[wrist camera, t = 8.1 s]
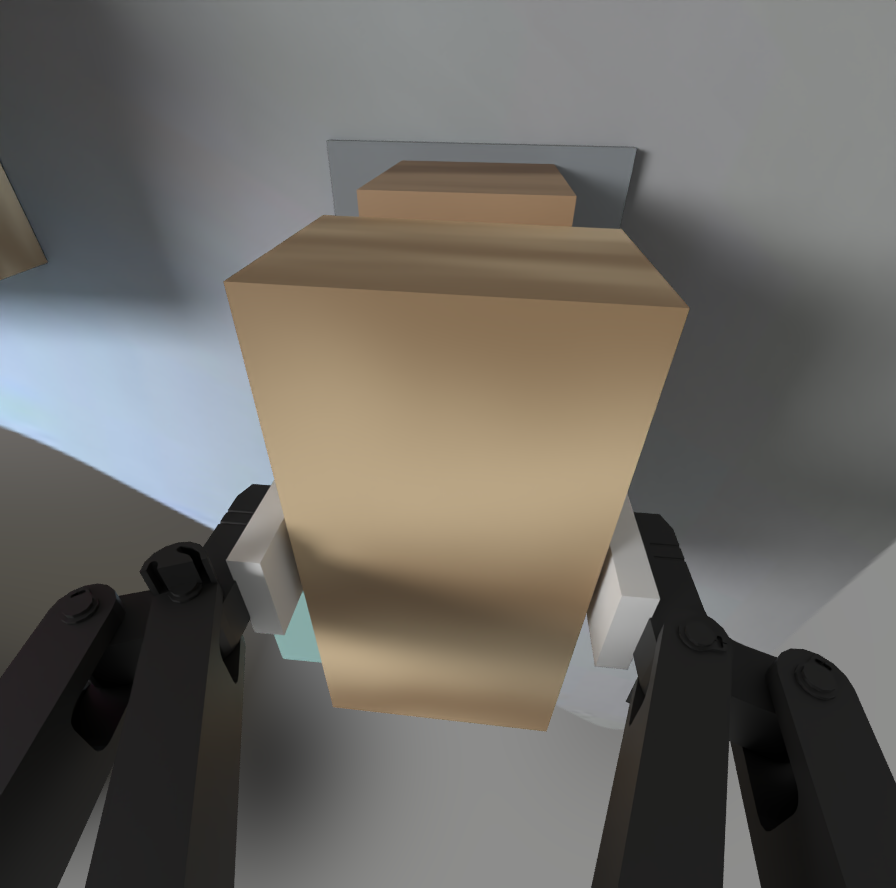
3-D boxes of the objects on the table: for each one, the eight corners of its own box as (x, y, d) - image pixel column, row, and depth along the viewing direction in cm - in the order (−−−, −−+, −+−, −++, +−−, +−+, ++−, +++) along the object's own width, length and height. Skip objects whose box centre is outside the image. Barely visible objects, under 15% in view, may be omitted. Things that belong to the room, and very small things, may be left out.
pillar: (401, 160, 16) (356, 189, 11) (553, 164, 15) (576, 195, 11) (407, 307, 19) (374, 381, 14) (535, 313, 18) (546, 390, 14)
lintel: (323, 215, 11) (223, 281, 7) (621, 229, 11) (689, 307, 7) (368, 582, 20) (333, 707, 16) (537, 598, 19) (546, 731, 15)
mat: (329, 140, 16) (326, 140, 16) (634, 146, 15) (637, 148, 15) (370, 492, 25) (368, 497, 25) (558, 506, 25) (559, 512, 24)
